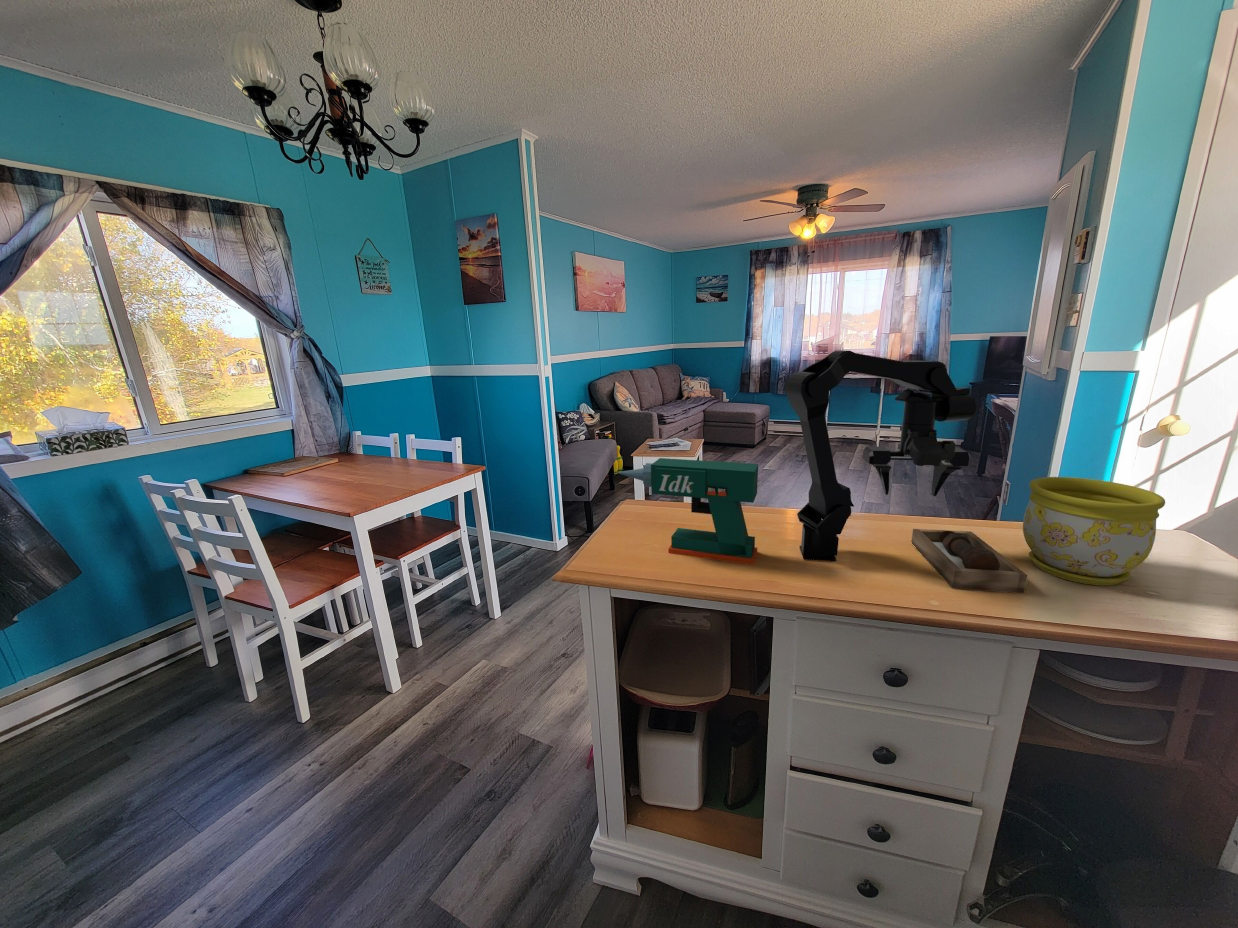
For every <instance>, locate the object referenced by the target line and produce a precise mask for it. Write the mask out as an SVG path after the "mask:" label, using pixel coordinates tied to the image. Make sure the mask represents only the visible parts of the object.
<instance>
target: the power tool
mask: <svg viewBox="0 0 1238 928" xmlns="http://www.w3.org/2000/svg"><path fill="white" fill-rule="evenodd" d="M615 474H619V475H622V476H625V477H629V478H632V479H635V480H639V481H640V482H641V481H642V484H643V485H644V487H647V488H648V487H650V489H651V493H650V494H652V495H660V496H661V495H663V496H664V495H665V496H673V497H674V496H675V497H687V498H690V499H691V501H690V502H691V505H690V506H691V507H690V508H691V509H690V510H691V513H695V514H702V515H703V514H704V515H705V514H706V515H711V518H712V523H713V526H714V530H715V531H711V530H710V531H708V530H700V529H691V528H683V527H678V528H676V530H675V531H674V532H673V534H672V536H671V544H670V546H669V547H668V549H667V550H668V554H673V555H679V556H680V555H681V556H687V557H688V556H689V557H696V558H702V559H708V560H709V559H710V560H717V561H725V562H731V563H740V564H747V565H753V566H754V565H755V561H756V558H757V555H758V547H756V546H755V545H756V544H755V543H756V536H752V535H751V536H750V535H749V533H748V528H747V524H746V519H745V515H744V512H743V508H742V503H749V504H750V503H752V504H753V503H755V499H756V497H757V494H758V479H759V463H749V462H748V463H746V462H730V461H713V460H700V459H699V460H698V459H697V460H696V459H683V458H682V459H681V458H664V457H659V458H658V459H657V460H655V461H654V462H653V463H649V462H648V463H647V462H646V463H645V464H644V467H642V468H637V469H636V468H635V469H631V470H630V469H629V470H623V471H616V472H615ZM702 499H707V502H705V501H702Z"/></svg>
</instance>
